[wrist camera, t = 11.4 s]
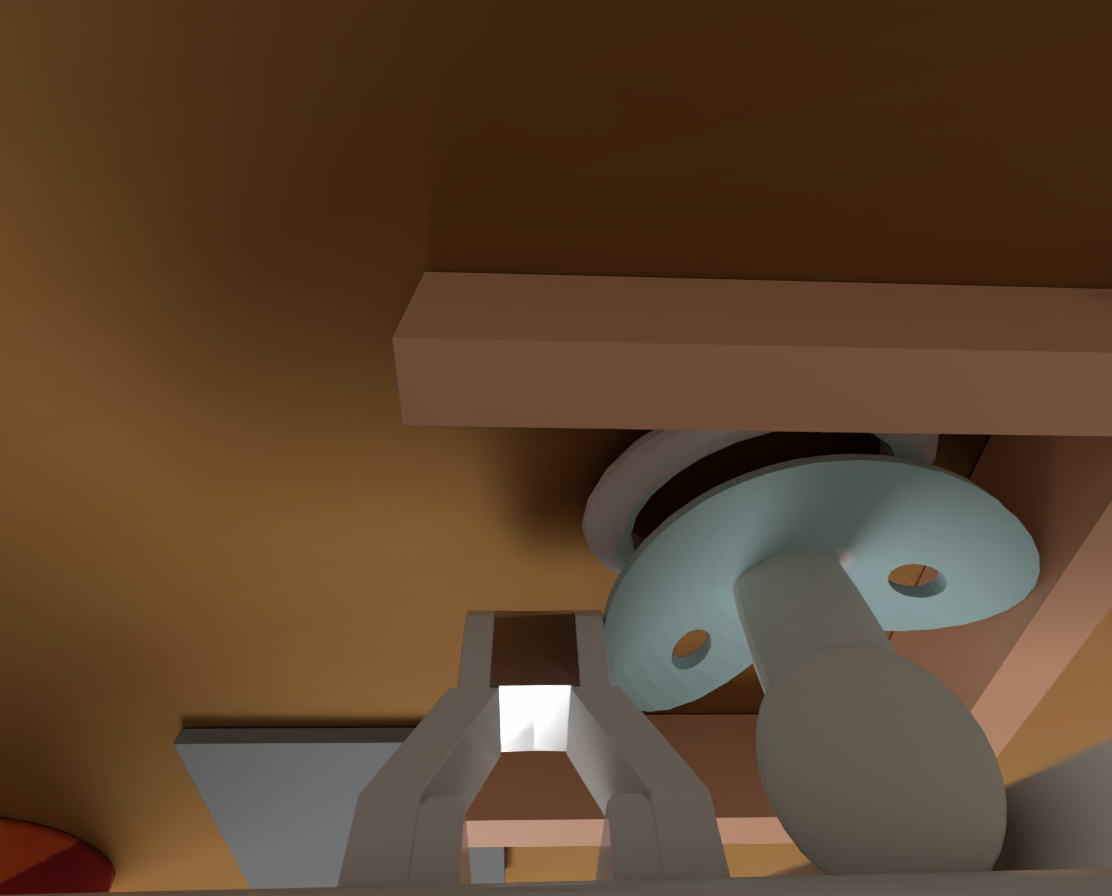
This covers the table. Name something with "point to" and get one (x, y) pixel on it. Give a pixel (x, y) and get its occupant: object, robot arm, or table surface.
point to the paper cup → (49, 862)
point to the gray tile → (296, 798)
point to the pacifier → (823, 634)
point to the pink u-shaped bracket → (795, 406)
